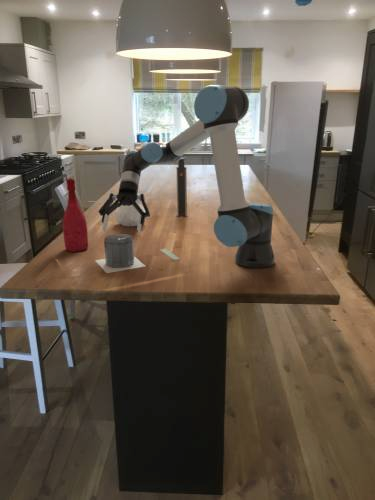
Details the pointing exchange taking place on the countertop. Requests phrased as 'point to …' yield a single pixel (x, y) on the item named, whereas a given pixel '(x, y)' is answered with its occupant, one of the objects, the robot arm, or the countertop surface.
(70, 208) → the wine bottle
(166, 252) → the mat
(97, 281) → the countertop surface
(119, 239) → the grey ribbed cylinder
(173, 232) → the countertop surface
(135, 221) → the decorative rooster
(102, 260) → the board
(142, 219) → the robot arm
